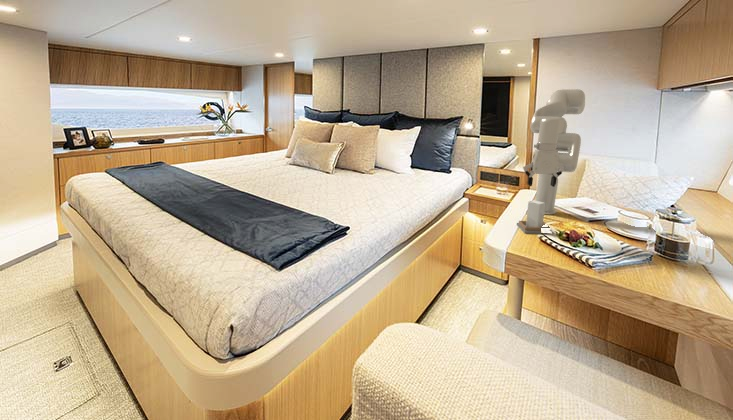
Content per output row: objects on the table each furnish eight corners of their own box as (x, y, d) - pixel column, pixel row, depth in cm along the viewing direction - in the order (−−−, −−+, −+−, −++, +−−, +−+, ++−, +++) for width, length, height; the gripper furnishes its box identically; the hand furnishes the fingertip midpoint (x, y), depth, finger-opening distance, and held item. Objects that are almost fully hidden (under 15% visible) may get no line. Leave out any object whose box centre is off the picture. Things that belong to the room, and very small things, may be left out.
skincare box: (542, 228, 166) (546, 202, 163) (536, 229, 164) (540, 204, 160) (530, 224, 171) (534, 199, 168) (524, 226, 169) (528, 201, 165)
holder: (516, 224, 174) (517, 219, 173) (542, 225, 173) (543, 220, 172) (524, 233, 162) (525, 228, 162) (552, 234, 161) (553, 229, 160)
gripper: (528, 148, 154) (523, 187, 159) (571, 148, 153) (564, 188, 158) (523, 146, 161) (518, 183, 167) (563, 146, 160) (557, 184, 165)
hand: (541, 185), depth 162 cm, fingers open, 9 cm apart
